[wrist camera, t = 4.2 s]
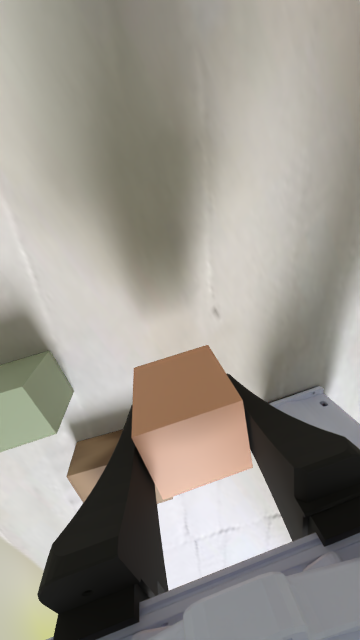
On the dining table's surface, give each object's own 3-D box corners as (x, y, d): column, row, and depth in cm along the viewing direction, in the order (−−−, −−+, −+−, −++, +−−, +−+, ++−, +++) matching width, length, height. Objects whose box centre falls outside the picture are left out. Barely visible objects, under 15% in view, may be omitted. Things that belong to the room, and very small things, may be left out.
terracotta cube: (207, 344, 14) (242, 400, 9) (219, 399, 16) (252, 467, 11) (133, 367, 13) (131, 437, 9) (155, 421, 15) (163, 500, 11)
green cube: (49, 350, 19) (22, 386, 14) (74, 390, 21) (56, 433, 16) (-7, 366, 19) (-53, 409, 14) (24, 406, 21) (-9, 455, 16)
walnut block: (154, 418, 25) (157, 450, 21) (168, 464, 28) (173, 498, 25) (77, 439, 24) (66, 476, 20) (102, 484, 27) (96, 522, 24)
